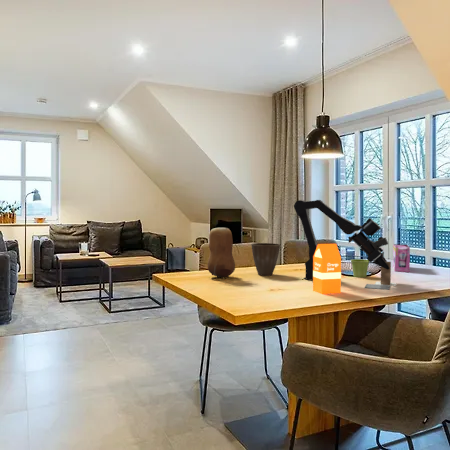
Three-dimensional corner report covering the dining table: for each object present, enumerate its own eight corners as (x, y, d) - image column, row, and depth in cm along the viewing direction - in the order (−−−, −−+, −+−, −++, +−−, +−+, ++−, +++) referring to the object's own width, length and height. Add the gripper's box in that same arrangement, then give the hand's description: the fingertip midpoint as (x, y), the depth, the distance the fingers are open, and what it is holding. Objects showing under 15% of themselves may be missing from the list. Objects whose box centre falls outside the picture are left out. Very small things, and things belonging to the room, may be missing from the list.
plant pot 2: (370, 279, 217) (371, 261, 216) (350, 278, 218) (351, 261, 218) (368, 276, 226) (368, 259, 225) (349, 275, 228) (349, 258, 227)
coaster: (364, 288, 190) (364, 287, 190) (366, 285, 199) (366, 283, 199) (389, 290, 186) (389, 289, 186) (390, 286, 195) (390, 285, 195)
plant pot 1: (272, 272, 239) (272, 242, 238) (284, 276, 225) (285, 244, 224) (247, 273, 234) (247, 243, 234) (257, 277, 220) (258, 245, 220)
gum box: (410, 272, 240) (410, 247, 239) (394, 271, 242) (395, 247, 242) (406, 267, 262) (407, 244, 262) (392, 266, 265) (393, 244, 264)
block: (380, 284, 199) (381, 262, 199) (381, 282, 204) (381, 261, 204) (390, 285, 198) (390, 262, 197) (390, 283, 202) (390, 261, 202)
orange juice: (341, 293, 180) (341, 244, 180) (321, 294, 178) (322, 244, 177) (331, 289, 188) (331, 243, 187) (312, 290, 185) (313, 243, 185)
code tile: (374, 285, 198) (374, 284, 198) (376, 282, 207) (376, 281, 207) (395, 286, 195) (395, 286, 195) (396, 283, 203) (396, 283, 203)
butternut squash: (225, 274, 229) (225, 226, 228) (240, 278, 218) (240, 227, 217) (202, 276, 221) (202, 227, 221) (216, 280, 210) (216, 228, 209)
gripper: (375, 232, 193) (402, 258, 189) (378, 230, 210) (403, 254, 206) (357, 249, 196) (382, 275, 192) (361, 246, 213) (385, 270, 210)
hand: (389, 268), depth 200 cm, fingers closed on block, 5 cm apart
